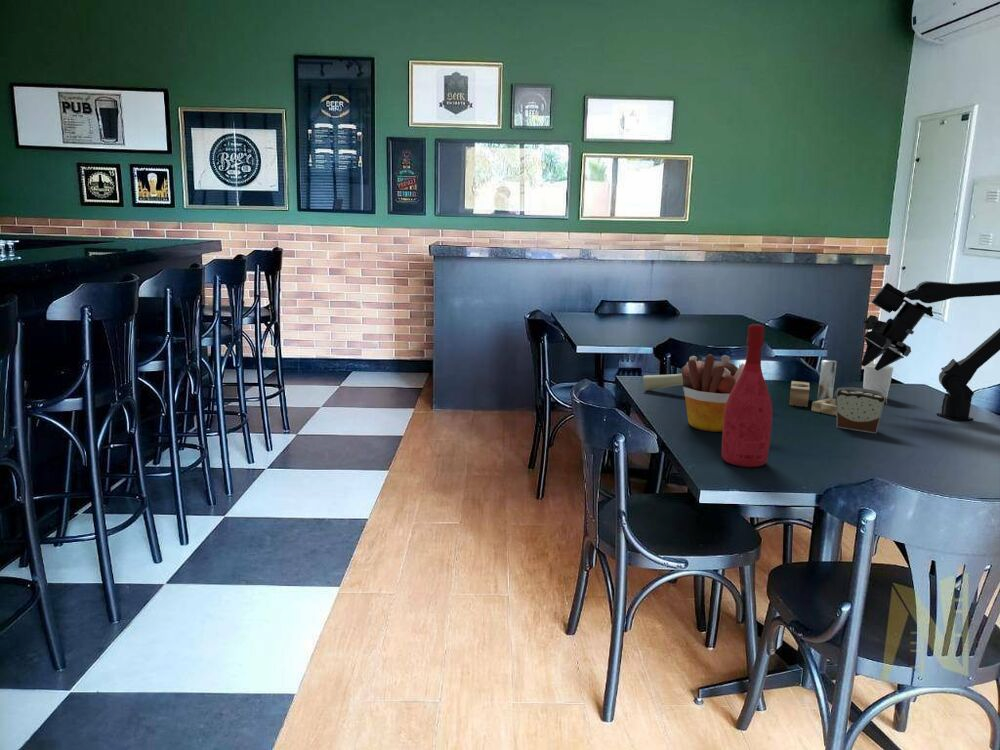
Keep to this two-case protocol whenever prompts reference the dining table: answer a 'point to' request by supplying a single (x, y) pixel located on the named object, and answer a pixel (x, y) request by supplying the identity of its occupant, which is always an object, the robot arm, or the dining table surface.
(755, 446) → the wine bottle
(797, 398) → the beam
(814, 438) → the dining table surface
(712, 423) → the bucket of meat
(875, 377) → the white cup
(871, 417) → the food container
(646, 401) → the dining table surface
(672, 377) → the flower vase
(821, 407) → the v cradle
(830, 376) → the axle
